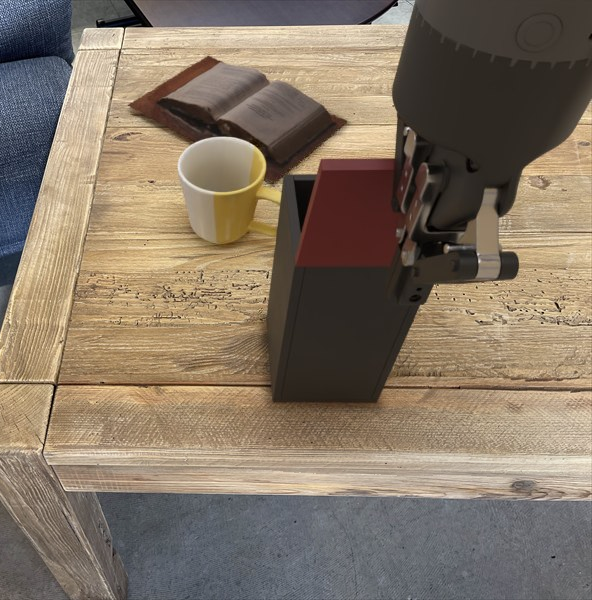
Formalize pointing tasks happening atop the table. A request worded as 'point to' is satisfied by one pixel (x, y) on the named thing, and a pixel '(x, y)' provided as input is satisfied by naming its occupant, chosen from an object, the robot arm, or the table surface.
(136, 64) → the table surface
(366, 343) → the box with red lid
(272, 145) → the book
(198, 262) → the table surface
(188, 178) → the mug
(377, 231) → the red lid
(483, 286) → the table surface
